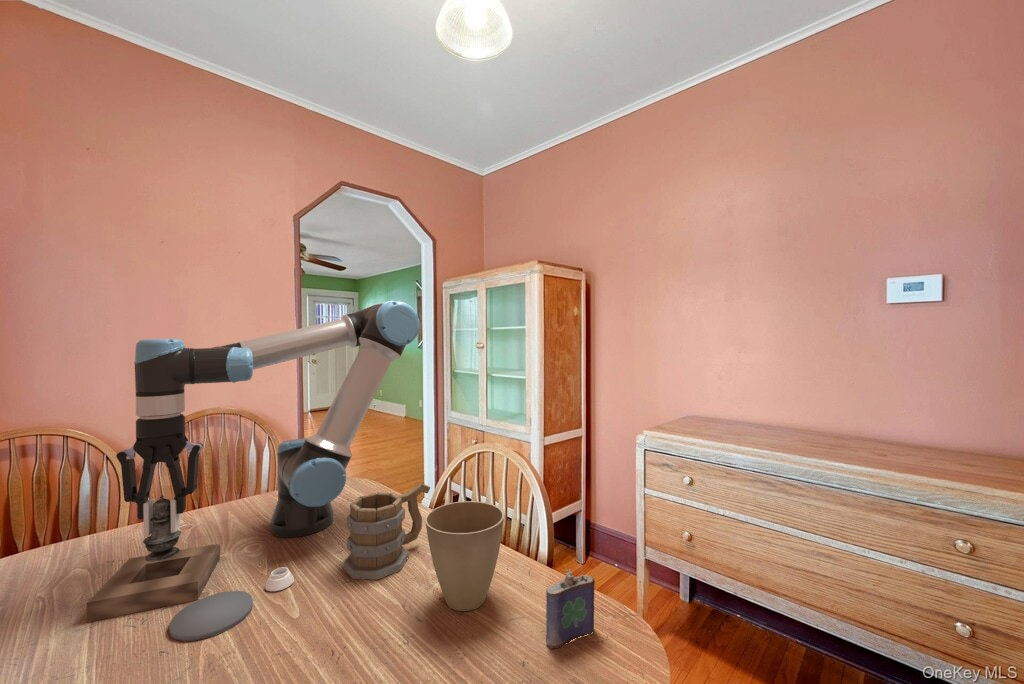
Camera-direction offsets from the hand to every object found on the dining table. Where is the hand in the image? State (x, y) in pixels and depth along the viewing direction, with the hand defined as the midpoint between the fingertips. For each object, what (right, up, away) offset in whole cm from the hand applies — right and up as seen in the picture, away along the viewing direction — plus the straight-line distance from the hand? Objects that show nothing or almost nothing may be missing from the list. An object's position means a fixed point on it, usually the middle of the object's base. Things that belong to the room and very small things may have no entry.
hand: (162, 531), depth 83 cm
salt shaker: (0, -5, 0) cm, 5 cm away
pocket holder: (0, -11, 0) cm, 11 cm away
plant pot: (+61, -11, -4) cm, 63 cm away
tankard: (+43, -11, +11) cm, 46 cm away
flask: (+80, -11, -14) cm, 82 cm away
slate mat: (+17, -11, -9) cm, 22 cm away
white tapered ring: (+23, -11, 0) cm, 26 cm away
